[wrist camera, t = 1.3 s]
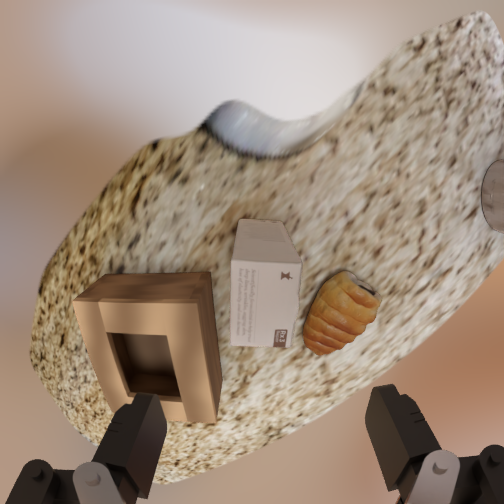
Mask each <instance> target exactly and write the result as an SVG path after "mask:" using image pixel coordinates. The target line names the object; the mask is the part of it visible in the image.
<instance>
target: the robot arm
mask: <svg viewBox="0 0 504 504" xmlns="http://www.w3.org/2000/svg"><path fill="white" fill-rule="evenodd" d="M482 206H483V211H484V215H485V218H486V220H487V222H488V224H489V225H490V226H491V227H492V228H493V229H494V230H496V231H498V232H501V233H504V160H498V161H496V162H494V163H493V164H492V165H491V166H490V168H489V169H488V171H487V173H486V175H485V178H484V182H483V187H482ZM365 424H366V428H367V431H368V433H369V437H370V439H371V442H372V445H373V448H374V451H375V453H376V456H377V459H378V462H379V465H380V468H381V471H382V474H383V477H384V480H385V483H386V486H387V489H388V491H392V490H396V489H398V490H399V492H400V496H399V497H398V499H397V501H396V503H395V504H504V447H502V446H500V445H490V446H488V447H486V448H484V450H483V451H482V452H481V453H480V455H478V456H469V457H457V456H456V455H455V454H454V453H452V452H450V451H447V450H442V448H441V447H440V445H439V443H438V441H437V439H436V438H435V436H434V434H433V432H432V430H431V429H430V427H429V425H428V423H427V421H425V418H424V416H423V414H422V413H421V411H420V409H419V407H418V406H417V404H416V402H415V401H414V400H413V399H411V398H410V397H409V396H408V395H406V394H404V395H400V394H399V392H398V391H397V389H396V387H395V386H394V385H393V384H388V385H383V386H378V387H374V388H373V389H372V392H371V396H370V400H369V404H368V407H367V411H366V415H365ZM166 433H167V421H166V418H165V415H164V412H163V409H162V406H161V403H160V399H159V397H158V395H157V394H150V393H141V392H138V393H137V394H136V395H135V397H134V399H133V401H132V403H131V404H126V403H125V404H124V405H123V406H122V407H120V408H119V409H118V410H117V411H116V412H115V414H114V416H113V418H112V420H111V423H110V424H109V426H108V428H107V431H106V433H105V435H104V437H103V439H102V441H101V443H100V445H99V447H98V449H97V451H96V453H95V455H94V457H93V459H92V461H91V462H86V463H83V464H82V465H80V466H78V467H77V469H76V470H57V469H53V468H52V467H51V466H50V464H48V463H47V462H46V461H44V460H40V459H35V460H32V461H29V462H28V463H27V464H25V466H24V467H23V469H22V471H21V473H20V475H19V477H18V479H17V481H16V482H15V484H14V487H13V489H12V491H11V493H10V495H9V497H8V499H7V501H6V503H5V504H136V500H137V497H139V498H144V499H148V495H149V492H150V488H151V485H152V481H153V478H154V474H155V471H156V467H157V464H158V460H159V457H160V454H161V450H162V447H163V444H164V440H165V437H166Z"/></svg>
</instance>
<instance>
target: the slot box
mask: <svg viewBox="0 0 504 504" xmlns="http://www.w3.org/2000/svg"><path fill="white" fill-rule="evenodd" d="M72 303H73V306H74V310H75V314H76V317H77V321H78V324H79V327H80V330H81V334H82V337H83V340H84V343H85V346H86V349H87V352H88V354H89V357H90V360H91V363H92V365H93V368H94V371H95V373H96V376H97V378H98V381H99V383H100V386H101V388H102V391H103V393H104V395H105V398H106V400H107V402H108V405H109V407H110V409H111V411H112V412H114V413H115V412H116V411H117V410H118V409H119V408H120V407H122V406H123V405H124V404H125V403H126V404H131V403H132V401H133V399H134V397H135V395H136V394H137V393H138V392H141V393H150V394H157V395H158V397H159V399H160V403H161V406H162V409H163V412H164V415H165V418H166V420H174V421H186V422H202V423H216V421H217V414H218V407H219V401H220V394H221V388H222V381H223V380H222V372H221V364H220V356H219V348H218V340H217V331H216V322H215V313H214V304H213V294H212V284H211V273H210V272H190V273H145V274H105V275H104V276H102V277H101V278H100V279H98V280H97V281H96V282H95V283H93V284H92V285H91V286H90V287H89V288H87V289H86V290H85V291H84V292H82V293H81V294H80V295H79V296H77V297H76V298H75V299H74V300H73V301H72Z"/></svg>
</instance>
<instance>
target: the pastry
mask: <svg viewBox="0 0 504 504" xmlns="http://www.w3.org/2000/svg"><path fill="white" fill-rule="evenodd" d="M381 301H382V297H381V296H380V294H379V293H377V292H375V291H373V290H372V288H371V287H370V286H369V285H368V284H366V283H363V282H362V281H359V280H357V278H356V276H355V275H354V274H352V273H350V272H348V271H342V272H340V273H338V274H336V275H335V276H333V277H332V278H331V279H329V280H328V281H327V282H325V283H324V284H323V286H322V287H321V288H320V290H319V291H318V293H317V296H316V298H315V300H314V302H313V304H312V306H311V309H310V311H309V314H308V317H307V319H306V322H305V324H304V327H303V338H304V343H305V345H306V347H307V348H309V349H310V350H312V351H313V352H314V353H315V354H316V355H319V356H320V355H323V354H329V353H331V352H333V351H335V350H340V349H342V348H343V347H344V345H345V344H347V343H351V342H353V341H354V339H355V337H356V336H358V335H361V334H362V333H363V332H364V331H365V328H366V325H367V324H368V323H372V322H373V321H374V320H375V318H376V313H377V309H378V307H379V306H380V303H381Z"/></svg>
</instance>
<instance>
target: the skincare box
mask: <svg viewBox="0 0 504 504" xmlns="http://www.w3.org/2000/svg"><path fill="white" fill-rule="evenodd" d="M302 265H303V264H302V261H301V259H300V257H299V255H298V253H297V251H296V249H295V247H294V245H293V243H292V241H291V239H290V237H289V235H288V233H287V231H286V229H285V227H284V225H283V223H282V221H273V220H258V219H239V221H238V227H237V232H236V237H235V243H234V249H233V255H232V259H231V270H230V345H231V346H250V347H286V348H290V347H291V346H292V342H293V335H294V328H295V321H296V318H297V315H298V309H299V292H300V284H301V275H302Z"/></svg>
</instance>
